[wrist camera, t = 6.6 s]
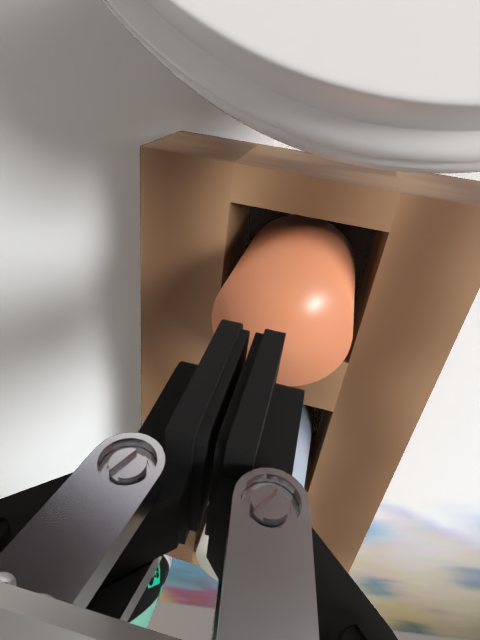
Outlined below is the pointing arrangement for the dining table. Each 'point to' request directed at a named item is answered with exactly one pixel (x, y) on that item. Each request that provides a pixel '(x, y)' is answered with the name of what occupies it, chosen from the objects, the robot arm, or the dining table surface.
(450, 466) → the dining table surface
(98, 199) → the dining table surface
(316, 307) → the rust egg
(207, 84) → the coffee cup
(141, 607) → the spray can
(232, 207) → the wooden egg holder
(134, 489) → the robot arm
